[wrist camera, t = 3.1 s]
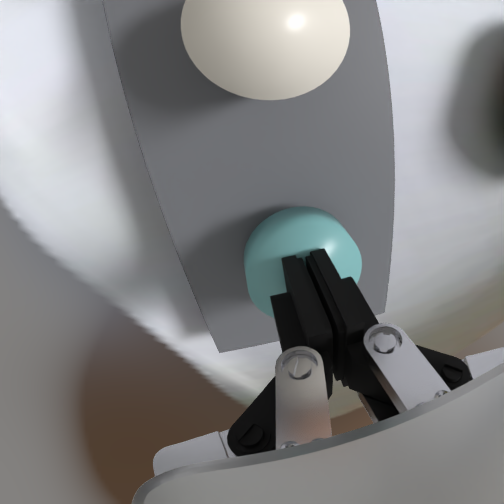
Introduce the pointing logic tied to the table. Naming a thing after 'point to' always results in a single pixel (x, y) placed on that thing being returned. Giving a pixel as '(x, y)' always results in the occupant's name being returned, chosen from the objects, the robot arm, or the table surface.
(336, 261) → the button teal
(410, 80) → the table surface
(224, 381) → the table surface
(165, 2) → the button panel
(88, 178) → the table surface
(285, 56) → the button ivory
